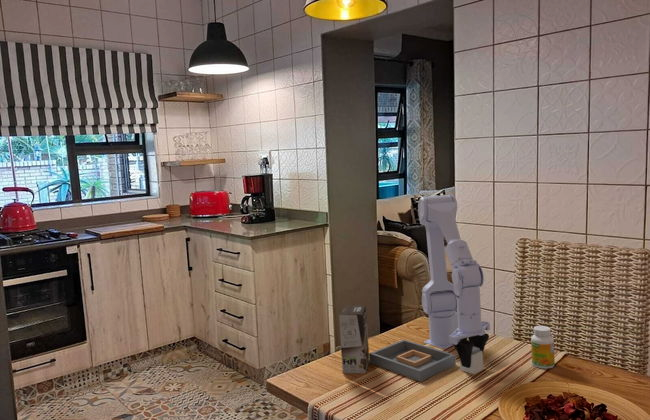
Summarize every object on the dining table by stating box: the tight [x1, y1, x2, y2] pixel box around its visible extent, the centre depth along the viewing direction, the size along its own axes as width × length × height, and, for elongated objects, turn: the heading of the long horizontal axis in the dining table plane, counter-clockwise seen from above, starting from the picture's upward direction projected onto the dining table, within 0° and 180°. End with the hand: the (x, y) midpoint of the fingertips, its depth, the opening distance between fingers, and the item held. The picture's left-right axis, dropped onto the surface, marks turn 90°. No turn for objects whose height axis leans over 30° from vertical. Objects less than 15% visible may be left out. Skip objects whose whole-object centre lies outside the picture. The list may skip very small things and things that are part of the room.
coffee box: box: [338, 304, 370, 374], centre depth 137 cm, size 9×6×16 cm
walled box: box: [369, 339, 457, 382], centre depth 136 cm, size 14×18×3 cm
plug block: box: [459, 346, 484, 375], centre depth 130 cm, size 4×4×6 cm
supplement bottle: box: [530, 325, 556, 369], centre depth 130 cm, size 5×5×10 cm
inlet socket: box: [396, 350, 432, 367], centre depth 139 cm, size 7×7×1 cm
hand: (471, 363), depth 130 cm, fingers closed on plug block, 4 cm apart
